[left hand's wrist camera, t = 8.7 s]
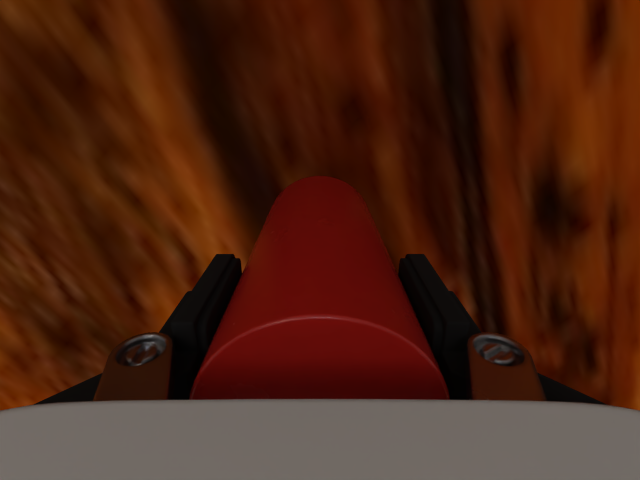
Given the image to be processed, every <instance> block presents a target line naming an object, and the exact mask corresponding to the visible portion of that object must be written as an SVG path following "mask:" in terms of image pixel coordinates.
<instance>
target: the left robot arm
mask: <svg viewBox="0 0 640 480" xmlns="http://www.w3.org/2000/svg"><path fill="white" fill-rule="evenodd" d="M241 275H242V270H241V261H240V258H235V256H234V254H216V255H215V257H214V258H213V260H212V261H211V263H210V264H209V266H208V267H207V269H206V270H205V272H204V273H203V275H202V276H201V278H200V279H199V281H198V282H197V284H196V285H195V287H194V288H193V290H192V291H188V292H187V293H186V294H185V296H184V297H183V298H182V300H181V301H180V303H179V304H178V306H177V307H176V309H175V310H174V311H173V313H172V314H171V316H170V317H169V319H168V320H167V322H166V323H165V324H164V326H163V327H162V329H161V330H160V332H159V333H157V332H152V333H144V334H140V335H136V336H133V337H131V338H128V339H126V340H125V341H123V342H121V343H120V344H118V345H117V346H116V347H115V348H114V349H113V350H112V351H111V353H110V355H109V357H108V359H107V362H106V365H105V368H104V371H103V373H101V374H99V375H97V376H95V377H93V378H90V379H88V380H86V381H84V382H82V383H80V384H77V385H75V386H73V387H71V388H69V389H66V390H64V391H62V392H60V393H58V394H56V395H53V396H51V397H49V398H47V399H45V400H42V401H40V402H38V403H36V404H34V405H29V406H23V407H18V408H12V409H7V410H1V411H0V480H640V411H639V410H633V409H628V408H622V407H617V406H611V405H606V404H604V403H602V402H600V401H598V400H596V399H593V398H591V397H589V396H587V395H585V394H582V393H580V392H578V391H576V390H574V389H572V388H569V387H567V386H565V385H563V384H561V383H559V382H556V381H554V380H552V379H550V378H548V377H545V376H543V375H541V374H539V373H537V371H536V368H535V365H534V362H533V359H532V357H531V355H530V353H529V351H528V350H527V349H526V348H525V347H524V346H523V345H522V344H520V343H519V342H517V341H515V340H514V339H512V338H509V337H507V336H504V335H500V334H496V333H488V332H483V333H481V331H480V330H479V328H478V327H477V325H476V324H475V323H474V321H473V320H472V318H471V317H470V315H469V314H468V312H467V311H466V310H465V308H464V307H463V305H462V304H461V302H460V301H459V299H458V298H457V297H456V295H455V294H454V293H453V292H452V291H448V289H447V288H446V286H445V285H444V283H443V282H442V280H441V279H440V277H439V276H438V274H437V273H436V271H435V270H434V268H433V267H432V265H431V264H430V262H429V261H428V259H427V258H426V257H425V255H424V254H407V255H406V257H405V258H401V259H400V263H399V273H398V277H399V279H400V281H401V283H402V286H403V288H404V290H405V292H406V294H407V297H408V299H409V301H410V303H411V306H412V308H413V310H414V312H415V315H416V317H417V319H418V321H419V324H420V326H421V328H422V330H423V333H424V335H425V337H426V339H427V342H428V344H429V346H430V348H431V351H432V353H433V355H434V357H435V360H436V362H437V364H438V366H439V369H440V371H441V373H442V375H443V378H444V380H445V383H446V385H447V388H448V391H449V396H450V400H409V399H223V400H189V397H190V392H191V389H192V386H193V383H194V380H195V378H196V376H197V374H198V371H199V369H200V367H201V365H202V362H203V360H204V358H205V356H206V353H207V351H208V349H209V347H210V345H211V342H212V340H213V338H214V336H215V333H216V331H217V329H218V327H219V324H220V322H221V320H222V318H223V315H224V313H225V311H226V309H227V306H228V304H229V302H230V300H231V298H232V295H233V293H234V291H235V289H236V286H237V284H238V282H239V280H240V277H241Z"/></svg>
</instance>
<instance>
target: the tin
mask: <svg viewBox="0 0 640 480" xmlns="http://www.w3.org/2000/svg"><path fill="white" fill-rule="evenodd" d="M223 399H409V400H450V396H449V391H448V388H447V385H446V383H445V380H444V378H443V375H442V373H441V371H440V369H439V366H438V364H437V362H436V360H435V357H434V355H433V353H432V351H431V348H430V346H429V344H428V342H427V339H426V337H425V335H424V333H423V330H422V328H421V326H420V324H419V321H418V319H417V317H416V315H415V312H414V310H413V308H412V306H411V303H410V301H409V299H408V297H407V294H406V292H405V290H404V288H403V286H402V283H401V281H400V279H399V277H398V274H397V272H396V270H395V268H394V265H393V263H392V261H391V259H390V256H389V254H388V252H387V250H386V247H385V245H384V243H383V241H382V238H381V236H380V234H379V232H378V229H377V227H376V225H375V223H374V220H373V218H372V216H371V214H370V211H369V209H368V207H367V205H366V203H365V201H364V199H363V198H362V196H361V195H360V194H359V193H358V192H357V191H356V190H355V189H354V188H353V187H352V186H350V185H349V184H347V183H345V182H344V181H341V180H339V179H336V178H333V177H328V176H312V177H307V178H303V179H300V180H298V181H296V182H294V183H292V184H291V185H289V186H288V187H287V188H285V189H284V190H283V191H282V192H281V193H280V194H279V196H278V197H277V199H276V200H275V202H274V204H273V206H272V208H271V210H270V213H269V215H268V217H267V219H266V221H265V224H264V226H263V228H262V230H261V233H260V235H259V237H258V239H257V242H256V244H255V246H254V248H253V251H252V253H251V255H250V257H249V260H248V262H247V264H246V266H245V268H244V271H243V273H242V275H241V277H240V280H239V282H238V284H237V286H236V289H235V291H234V293H233V295H232V298H231V300H230V302H229V304H228V306H227V309H226V311H225V313H224V315H223V318H222V320H221V322H220V324H219V327H218V329H217V331H216V333H215V336H214V338H213V340H212V342H211V345H210V347H209V349H208V351H207V353H206V356H205V358H204V360H203V362H202V365H201V367H200V369H199V371H198V374H197V376H196V378H195V380H194V383H193V386H192V389H191V392H190V397H189V400H223Z"/></svg>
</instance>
